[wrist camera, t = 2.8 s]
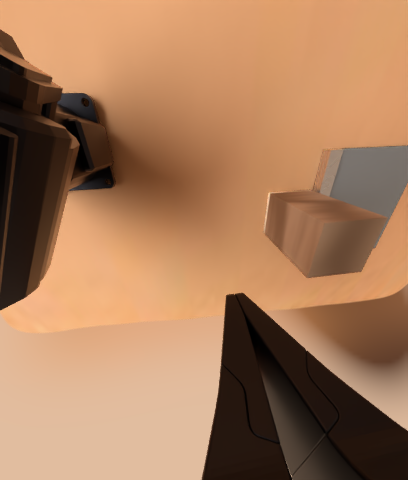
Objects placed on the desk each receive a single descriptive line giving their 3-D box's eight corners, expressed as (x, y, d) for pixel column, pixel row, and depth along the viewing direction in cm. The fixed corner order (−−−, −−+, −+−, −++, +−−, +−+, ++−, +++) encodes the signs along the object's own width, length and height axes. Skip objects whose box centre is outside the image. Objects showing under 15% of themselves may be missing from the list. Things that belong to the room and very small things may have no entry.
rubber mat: (310, 253, 23) (311, 254, 23) (341, 148, 17) (343, 148, 17) (373, 247, 24) (374, 248, 24) (424, 144, 18) (426, 144, 18)
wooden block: (263, 231, 20) (307, 278, 13) (268, 192, 18) (324, 223, 11) (300, 228, 21) (361, 271, 14) (309, 189, 19) (388, 217, 12)
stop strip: (296, 255, 23) (300, 259, 22) (323, 149, 17) (331, 149, 16) (305, 254, 23) (310, 258, 22) (335, 148, 17) (343, 149, 16)
